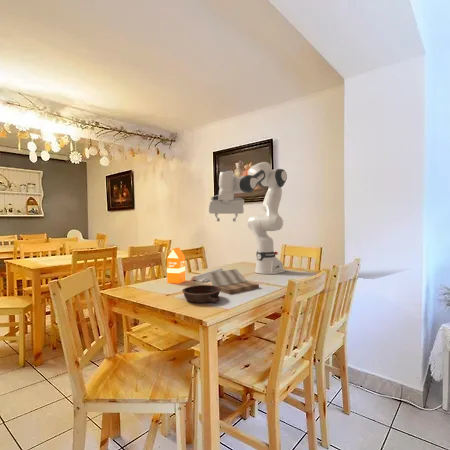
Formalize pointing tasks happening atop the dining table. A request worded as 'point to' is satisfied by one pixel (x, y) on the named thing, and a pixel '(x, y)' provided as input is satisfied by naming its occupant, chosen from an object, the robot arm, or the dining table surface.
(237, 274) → the grey striped panel
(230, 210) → the robot arm
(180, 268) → the orange juice
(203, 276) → the crown molding
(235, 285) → the walnut floorboard
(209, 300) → the dish
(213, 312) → the dining table surface
